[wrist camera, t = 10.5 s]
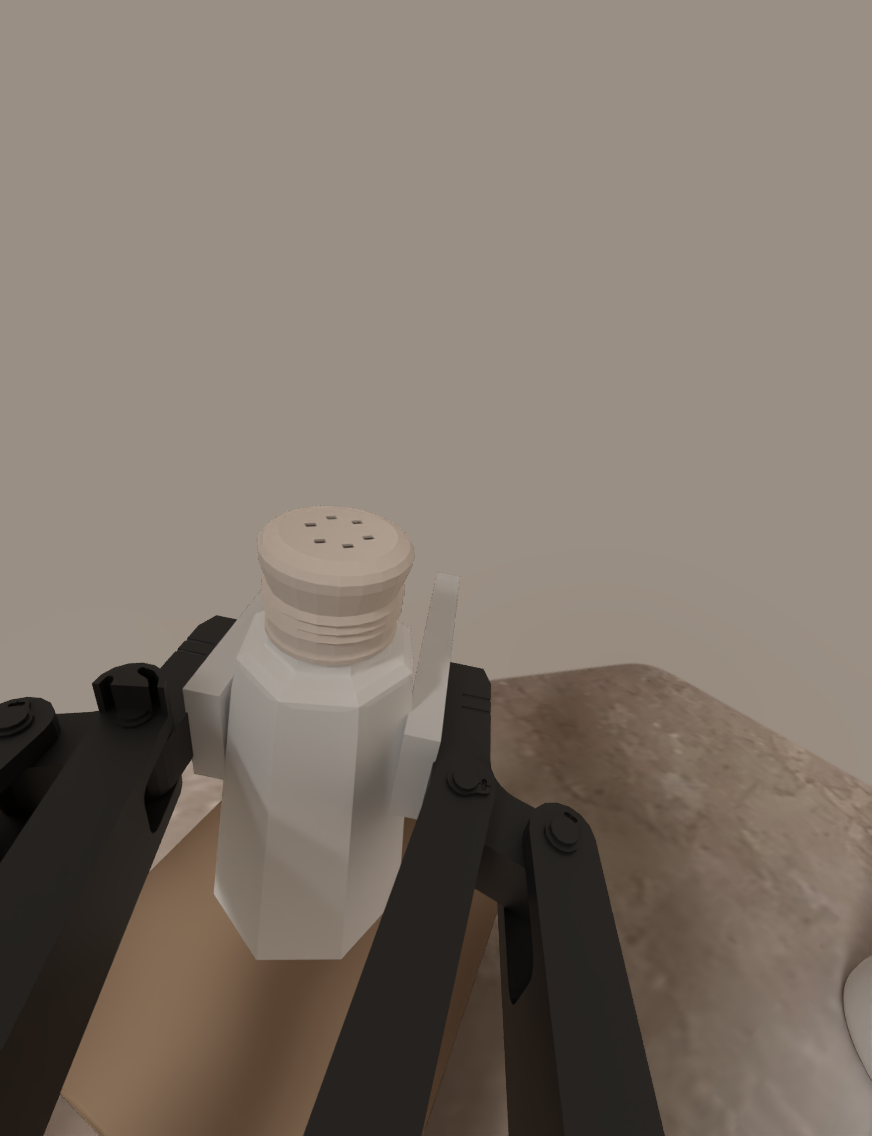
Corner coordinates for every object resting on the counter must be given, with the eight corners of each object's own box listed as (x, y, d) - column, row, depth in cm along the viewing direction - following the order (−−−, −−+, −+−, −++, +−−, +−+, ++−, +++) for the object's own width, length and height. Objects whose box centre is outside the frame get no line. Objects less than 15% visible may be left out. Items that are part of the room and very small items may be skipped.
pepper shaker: (206, 807, 15) (164, 475, 9) (370, 758, 17) (414, 473, 12) (225, 1019, 11) (173, 659, 5) (434, 916, 13) (547, 597, 8)
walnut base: (41, 1073, 16) (-1, 1021, 14) (283, 797, 26) (285, 737, 23) (327, 1376, 13) (341, 1381, 10) (483, 925, 22) (510, 870, 20)
